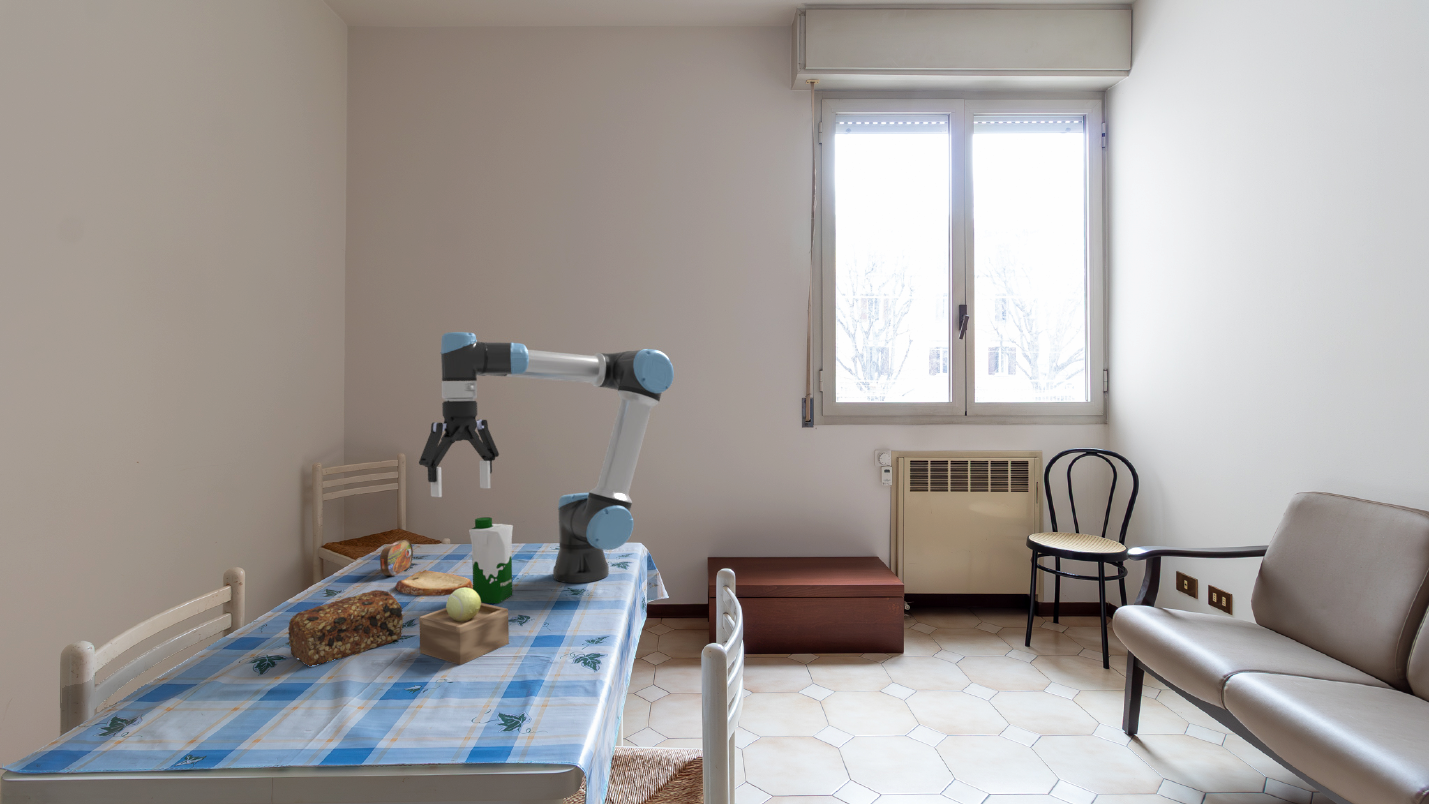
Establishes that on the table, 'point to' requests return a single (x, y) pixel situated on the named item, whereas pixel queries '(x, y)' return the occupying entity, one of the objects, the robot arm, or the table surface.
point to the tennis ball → (463, 604)
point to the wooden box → (463, 634)
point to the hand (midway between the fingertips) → (461, 492)
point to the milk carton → (491, 560)
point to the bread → (345, 627)
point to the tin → (396, 558)
